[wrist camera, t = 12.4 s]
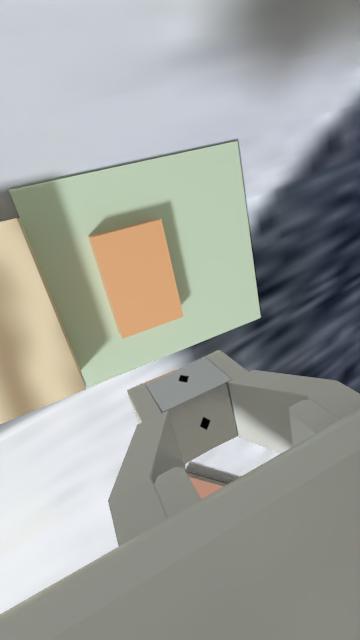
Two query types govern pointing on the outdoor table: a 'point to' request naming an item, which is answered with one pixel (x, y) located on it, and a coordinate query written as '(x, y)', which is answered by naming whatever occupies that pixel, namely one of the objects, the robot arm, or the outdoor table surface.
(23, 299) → the plate
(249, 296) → the mat
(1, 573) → the outdoor table surface
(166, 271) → the orange rectangular block
